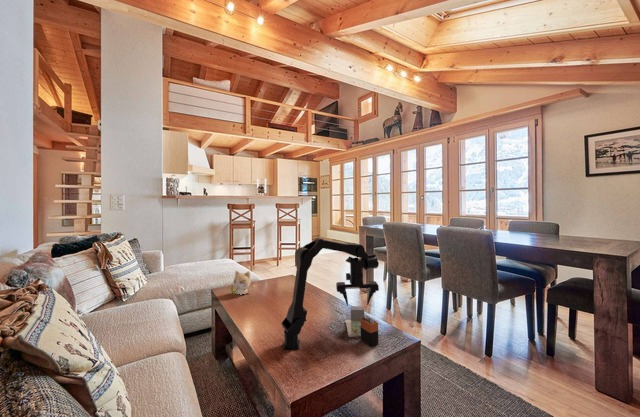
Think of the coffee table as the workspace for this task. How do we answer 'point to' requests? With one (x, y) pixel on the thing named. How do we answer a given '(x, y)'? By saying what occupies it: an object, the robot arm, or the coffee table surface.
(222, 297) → the coffee table surface
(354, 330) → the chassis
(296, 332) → the robot arm
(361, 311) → the grey block
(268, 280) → the coffee table surface
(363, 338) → the battery
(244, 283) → the kitten
